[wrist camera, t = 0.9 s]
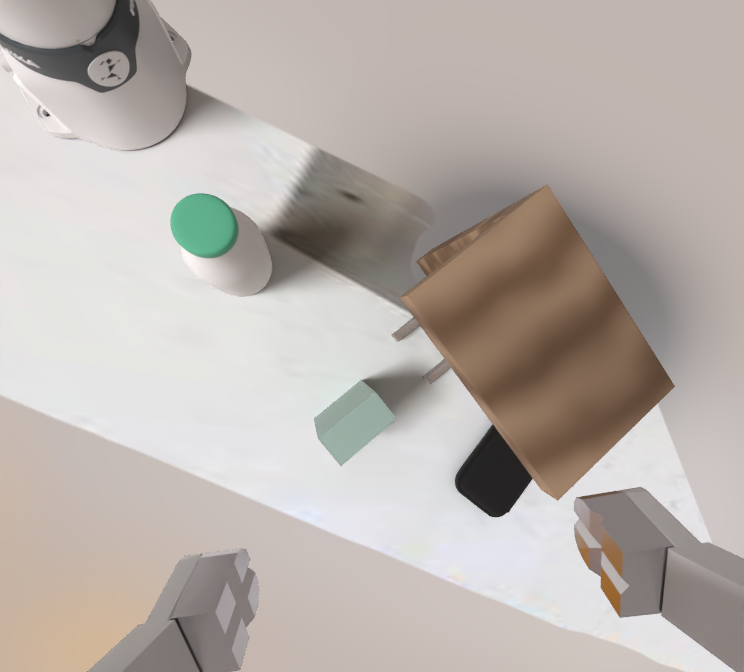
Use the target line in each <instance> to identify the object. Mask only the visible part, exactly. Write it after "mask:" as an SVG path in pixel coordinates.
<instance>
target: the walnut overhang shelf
mask: <svg viewBox="0 0 744 672" xmlns="http://www.w3.org/2000/svg"><path fill="white" fill-rule="evenodd" d="M417 263H418V264H419V266H420V267H421V269H422V270H423V271H424V273H425V274H426V275H427V277H426V278H424V279H423V280H422V281H420V282H419V283H418V284H417V285H415V286H414V287H413V288H412V289H410V290H409V291H408V292H407V293H405V294H404V295H403V296H401V297H400V299H401V300H402V302H403V303H404V304H405V306H406V307H407V308H408V310H409V311H410V312H411V314H412V315H413V318H412V319H411V320H409V321H408V322H407V323H406V324H405V325H403V326H402V327H401V328H400V329H398V330H397V331H396V332H395V333H393V334H392V337H393V338H394V339H395V341H400V340H401V339H402V338H403V337H405V336H406V335H407V334H408V333H410V332H411V331H412V330H413V329H414V328H416V327H417V326H418V325H420V326H421V327H422V329H423V330H424V331H425V333H426V334H427V335H428V337H429V338H430V340H431V341H432V342H433V344H434V345H435V346H436V348H437V349H438V350H439V352H440V353H441V354H442V356H443V357H444V360H442V361H441V362H440V363H439V364H438V365H437V366H435V367H434V368H433V369H432V370H431V371H429V372H428V373H427V374H426V375H425V376H423V378H424V379H425V380H426V382H427V383H430V384H432V383H433V382H434V381H435V380H436V379H438V378H439V377H440V376H441V375H442V374H443V373H445V372H446V371H447V370H448V369H449V368H450V367H451V368H452V369H453V371H454V372H455V373H456V375H457V376H458V377H459V379H460V380H461V382H462V383H463V384H464V386H465V387H466V388H467V390H468V391H469V392H470V394H471V395H472V396H473V398H474V399H475V401H476V402H477V403H478V405H479V406H480V407H481V409H482V410H483V411H484V413H485V414H486V415H487V417H488V418H489V420H490V421H491V422H492V424H493V425H494V426H495V428H496V429H497V430H498V432H499V433H500V434H501V436H502V437H503V438H504V440H505V441H506V443H507V444H508V445H509V447H510V448H511V449H512V451H513V452H514V453H515V455H516V456H517V457H518V459H519V460H520V462H521V463H522V464H523V466H524V467H525V468H526V470H527V471H528V472H529V474H530V475H531V476H532V478H533V479H534V480H535V482H536V483H537V485H538V486H539V487H540V489H541V490H543V491H544V492H546V493H547V494H549V495H550V496H552V497H553V498H555V499H556V500H559V499H560V498H561V497H562V496H563V495H564V494H565V493H566V492H567V491H568V490H569V489H570V488H571V487H572V486H573V485H574V484H575V483H576V482H577V481H578V480H579V479H580V478H581V477H582V476H583V475H585V474H586V473H587V472H588V471H589V470H590V469H591V468H592V467H593V466H594V465H595V464H596V463H597V462H598V461H599V460H600V459H601V458H602V457H603V456H604V455H605V454H606V453H607V452H608V451H609V450H610V449H611V448H612V447H613V446H614V445H615V444H616V443H617V442H618V441H619V440H620V439H621V438H622V437H624V436H625V435H626V434H627V433H628V432H629V431H630V430H631V429H632V428H633V427H634V426H635V425H636V424H637V423H638V422H639V421H640V420H641V419H642V418H643V417H644V416H645V415H646V414H647V413H648V412H649V411H650V410H651V409H652V408H653V407H654V406H655V405H656V404H657V403H658V402H659V401H660V400H661V399H663V398H664V396H666V395H667V394H668V393H669V392H670V391H671V390H672V389H673V388H674V387H675V386H674V385H673V383H672V381H671V379H670V378H669V376H668V375H667V373H666V372H665V370H664V368H663V367H662V365H661V364H660V362H659V360H658V359H657V357H656V356H655V354H654V352H653V351H652V349H651V348H650V346H649V345H648V343H647V341H646V340H645V338H644V337H643V335H642V333H641V332H640V330H639V329H638V327H637V326H636V324H635V323H634V321H633V319H632V318H631V316H630V314H629V313H628V311H627V310H626V308H625V307H624V305H623V303H622V302H621V300H620V299H619V297H618V296H617V294H616V292H615V291H614V289H613V288H612V286H611V284H610V283H609V281H608V280H607V278H606V276H605V275H604V273H603V272H602V270H601V269H600V267H599V266H598V264H597V262H596V261H595V259H594V257H593V256H592V254H591V253H590V251H589V249H588V248H587V246H586V245H585V243H584V242H583V240H582V238H581V237H580V235H579V234H578V232H577V230H576V229H575V227H574V226H573V224H572V223H571V221H570V220H569V218H568V216H567V215H566V213H565V212H564V210H563V208H562V207H561V205H560V204H559V202H558V200H557V199H556V197H555V196H554V194H553V193H552V191H551V189H550V188H549V187H548V185H546V186H544V187H542V188H541V189H539V190H537V191H535V192H533V193H532V194H530V195H528V196H526V197H524V198H523V199H521V200H519V201H517V202H515V203H514V204H512V205H510V206H508V207H507V208H505V209H503V210H501V211H499V212H498V213H496V214H494V215H492V216H490V217H489V218H487V219H485V220H483V221H481V222H480V223H478V224H476V225H474V226H473V227H471V228H469V229H467V230H465V231H464V232H462V233H460V234H458V235H456V236H455V237H453V238H451V239H449V240H448V241H446V242H444V243H442V244H440V245H439V246H437V247H435V248H433V249H432V250H431V251H429V252H428V253H427V254H425V255H424V256H423V257H422V258H420V259H419V260H418V261H417Z"/></svg>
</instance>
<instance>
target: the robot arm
mask: <svg viewBox="0 0 744 672" xmlns="http://www.w3.org/2000/svg"><path fill="white" fill-rule="evenodd" d="M172 41H174V42H172ZM190 59H191V50H190V48H189V46H188V44H187V42H186V41H185V40H184V39H183V38H182V37H181V36H180V35H179V34H178V33H177V32H176V31H175V30H174V29H173V28H172V27H170V26H169V25H168V24H167V23H166V22H165V21H164V20H163V19H162V18H161V17H160V16H159V14H158V12H157V10H156V8H155V6H154V5H153V3H152V2H151V1H150V0H0V64H1V66H2V67H3V68H4V69H5V70H6V71H7V72H11V74H12V75H13V77H14V79H15V81H16V82H17V84H18V86H19V88H20V89H21V91H22V93H23V95H24V97H25V98H26V100H27V102H28V104H29V105H30V107H31V109H32V111H33V112H34V114H35V116H36V118H37V119H38V121H39V123H40V125H41V126H42V128H43V129H44V130H45V131H46V132H47V133H48V134H50V135H51V136H54V137H58V138H79V139H84V140H87V141H89V142H92V143H95V144H97V145H100V146H103V147H106V148H111V149H117V150H136V149H142V148H146V147H149V146H152V145H154V144H156V143H158V142H160V141H162V140H163V139H164V138H166V137H167V136H168V135H169V134H170V133H171V132H172V131H173V130H174V129H175V128H176V127H177V125H178V124H179V122H180V120H181V118H182V116H183V113H184V110H185V106H186V97H187V93H186V82H185V74H186V71H187V69H188V66H189V63H190ZM47 113H49V114H50V116H48V117H47ZM574 511H575V512H576V514H577V515H578V517H579V520H578V521H577V522H576V524H575V525H574V531H575V539H576V543H577V546H578V549H579V552H580V554H581V556H582V558H583V560H584V561H585V563H586V565H587V566H588V568H589V569H590V570H592V571H593V572H595V573H596V574H598V575H599V576H601V589H602V590H603V592H604V593H605V595H606V597H607V598H608V600H609V601H610V603H611V604H612V606H613V608H614V609H615V611H616V612H617V614H618V615H619V617H620V618H621V617H630V616H640V615H649V614H658V613H662V614H661V616H663V617H664V618H665V619H667V620H668V621H669V622H671V623H672V624H673V625H675V626H676V627H677V628H679V629H680V630H681V631H683V632H684V633H685V634H687V635H688V636H689V637H691V638H692V639H693V640H695V641H696V642H697V643H699V644H700V645H701V646H703V647H704V648H705V649H706V650H708V651H709V652H710V653H712V654H713V655H714V656H716V657H717V658H718V659H720V660H721V661H722V662H724V663H725V664H726V665H728V666H729V667H730V668H732V669H733V670H734V671H736V672H744V559H743V558H741V557H739V556H737V555H734V554H732V553H730V552H728V551H726V550H724V549H722V548H719V547H717V546H715V545H713V544H711V543H709V542H708V543H701V542H699V541H698V540H697V539H696V538H695V537H694V536H693V535H692V534H691V533H690V532H689V531H688V530H687V529H686V528H685V527H684V526H683V525H682V524H681V523H680V522H679V521H678V520H677V519H676V518H675V517H674V516H673V515H672V514H671V513H670V512H669V511H668V510H667V509H666V508H665V507H664V506H663V505H661V504H660V503H659V502H658V501H657V500H656V499H655V498H654V497H653V496H652V495H651V494H650V493H649V492H648V491H647V490H646V489H644V488H642V487H638V488H632V489H625V490H619V491H613V492H607V493H601V494H595V495H588V496H582V497H576V499H575V502H574ZM249 562H250V557H249V555H248V552H247V550H246V549H242V548H241V549H233V550H225V551H216V552H208V553H204V554H195V555H188V556H184V557H183V558H182V559H181V560H180V561H179V562H178V564H177V565H176V567H175V569H174V571H173V573H172V574H171V577H170V578H169V580H168V582H167V584H166V586H165V587H164V589H163V591H162V593H161V595H160V597H159V599H158V600H157V602H156V604H155V606H154V608H153V610H152V611H151V614H150V615H149V617H148V619H147V621H146V623H145V624H140V625H138V626H137V627H136V628H134V629H133V630H132V631H131V632H130V633H129V634H128V635H127V636H126V637H125V638H124V639H122V640H121V641H120V642H119V643H118V644H117V645H116V646H115V647H114V648H113V649H111V650H110V651H109V652H108V653H107V654H106V655H105V656H104V657H103V658H102V659H101V660H99V661H98V662H97V663H96V664H95V665H94V666H93V667H92V668H91V669H90V670H89V671H87V672H231V671H237V670H240V669H241V666H242V662H243V659H244V655H245V651H246V648H247V644H248V640H249V635H248V632H247V630H246V627H247V626H248V625H249V623H250V622H251V621H252V620H253V619H254V617H255V615H256V610H257V607H258V599H259V585H258V579H257V576H256V573H255V572H254V571H252V570H251V569H250V568H248V565H249Z"/></svg>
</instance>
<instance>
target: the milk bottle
mask: <svg viewBox="0 0 744 672" xmlns="http://www.w3.org/2000/svg"><path fill="white" fill-rule="evenodd" d="M171 230H172V233H173V235H174V237H175V239H176V241H177V242H178V243H179V245H180V248H181V253H182V256H183V259H184V261H185V263H186V264H187V266H188V267H189V269H190V270H191V271H192V272H193V274H194V275H196V276H197V277H198V278H199V279H201V280H202V281H203V282H205V283H206V284H208V285H210V286H212V287H214V288H216V289H218V290H220V291H222V292H224V293H226V294H229V295H232V296H238V297H245V296H250V295H253V294H255V293H257V292H259V291H260V290H262V289H263V288H264V287H265V286H266V284H267V283H268V281H269V279H270V277H271V273H272V260H271V256H270V253H269V250H268V247H267V244H266V242H265V239H264V237H263V235H262V233H261V231H260V229H259V228H258V226H257V225H256V224H255V223H254V222H253V221H252V220H251V219H250V218H249V217H248V216H247V215H245V214H244V213H242V212H240V211H238V210H236V209H234V208H231V207H229V206H228V205H227V204H226V203H225V202H224V201H223V200H221V199H219V198H218V197H215V196H213V195H209V194H193V195H189V196H187V197H185V198H183V199H182V200H181V201H180V202H179V203H178V204H177V205H176V206H175V208H174V210H173V212H172V215H171Z"/></svg>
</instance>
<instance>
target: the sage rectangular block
mask: <svg viewBox="0 0 744 672" xmlns="http://www.w3.org/2000/svg"><path fill="white" fill-rule="evenodd" d="M396 419H397V418H396V417H395V416H394V415H393V413H392V412H391V411H390V409H389V408H388V407H387V406H386V404H385V403H384V402H383V401H382V399H381V398H380V397H379V395H378V394H377V393H376V392H375V391H374V390H373V389H372V388H370V387H369V386H368V385H367V384H365V383H364V382H363V381H362V380H361V381H360V382H358V383H357V384H356V385H355V386H353V387H352V388H351V389H350V390H349V391H347V392H346V393H345V394H344V395H342V396H341V397H340V398H339V399H338V400H336V401H335V402H334V403H333V404H331V405H330V406H329V407H328V408H327V409H325V410H324V411H323V412H322V413H320V414H319V415H318V416H317V417H316V418H314V421H315V426H316V431H317V435H318V439H319V440H320V442H321V443H322V444H323V445H324V446H325V448H326V449H327V450H328V451H329V452H330V454H331V455H332V456H333V457H334V458H335V460H336V461H337V462H338V463H339V464H340V466H342V465H343V464H344V463H345V462H346V461H348V460H349V459H350V458H351V457H352V456H354V455H355V454H356V453H357V452H358V451H359V450H361V449H362V448H363V447H364V446H365V445H366V444H368V443H369V442H370V441H371V440H372V439H373V438H375V437H376V436H377V435H378V434H379V433H380V432H382V431H383V430H384V429H385V428H386V427H388V426H389V425H390V424H391V423H392V422H393V421H395V420H396Z"/></svg>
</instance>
